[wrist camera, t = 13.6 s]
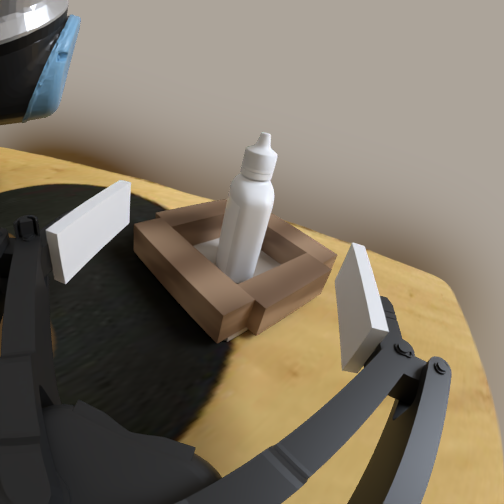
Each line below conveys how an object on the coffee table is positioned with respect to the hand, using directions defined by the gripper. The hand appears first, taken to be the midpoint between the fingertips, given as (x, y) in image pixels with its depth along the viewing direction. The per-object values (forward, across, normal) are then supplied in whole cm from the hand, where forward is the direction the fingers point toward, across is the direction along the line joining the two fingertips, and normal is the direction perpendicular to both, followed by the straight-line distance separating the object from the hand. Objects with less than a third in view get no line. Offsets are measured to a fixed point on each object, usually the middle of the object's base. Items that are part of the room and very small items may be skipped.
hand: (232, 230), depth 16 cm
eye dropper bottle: (+8, 0, -8) cm, 11 cm away
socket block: (+8, 0, -8) cm, 11 cm away
